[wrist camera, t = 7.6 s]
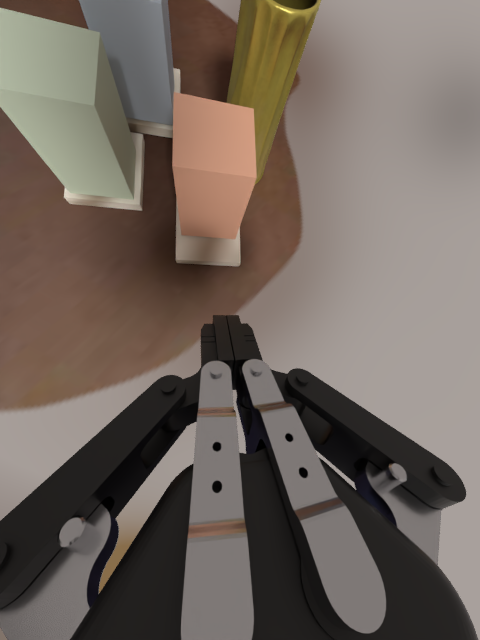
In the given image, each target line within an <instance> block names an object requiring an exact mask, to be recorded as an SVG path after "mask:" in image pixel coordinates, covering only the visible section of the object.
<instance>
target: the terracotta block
mask: <svg viewBox="0 0 480 640" xmlns="http://www.w3.org/2000/svg"><path fill="white" fill-rule="evenodd" d="M172 167H173V174H174V182H175V190H176V197H177V205H178V212H179V220H180V228H181V235H187V236H199V237H212V238H225V239H235V238H236V236H237V233H238V230H239V227H240V224H241V221H242V218H243V216H244V213H245V210H246V207H247V204H248V201H249V198H250V196H251V193H252V190H253V187H254V184H255V181H256V178H257V174H256V150H255V126H254V109H253V108H248V107H243V106H239V105H234V104H229V103H224V102H219V101H215V100H210V99H205V98H200V97H195V96H191V95H186V94H181V93H176V92H174V101H173V159H172Z"/></svg>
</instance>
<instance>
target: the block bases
mask: <svg viewBox="0 0 480 640" xmlns="http://www.w3.org/2000/svg"><path fill="white" fill-rule="evenodd" d="M173 71H174V92H176V93H180V85H181V79H180V70H179V69H175V68H173ZM126 120H127V123H128V126H129V130H130V131H132V132H130V133H131V136H132V139H133V143H134V146H135V149H136V157H135V180H134V200H133V199H123V198H114V197H104V196H95V195H86V194H76V193H70V192H69V191H68V190H67V189H66V187H65V192H64V198H65V199H66V200H67V201H68V202H69V203H70V204H78V205H88V206H99V207H109V208H119V209H129V210H140V211H142V206H143V179H144V152H145V141H144V137H143V134H139V133H144V134H150V135H156V136H162V137H168V138H173V125H167V124H161V123H156V122H150V121H144V120H139V119H133V118H127V117H126ZM133 132H138V133H133ZM176 263H184V264H203V265H222V266H239V265H240V263H241V260H240V227H239V230H238V233H237V236H236V238H235V239H225V238H212V237H199V236H187V235H181V228H180V220H179V212H178V205H177V199H176Z"/></svg>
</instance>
